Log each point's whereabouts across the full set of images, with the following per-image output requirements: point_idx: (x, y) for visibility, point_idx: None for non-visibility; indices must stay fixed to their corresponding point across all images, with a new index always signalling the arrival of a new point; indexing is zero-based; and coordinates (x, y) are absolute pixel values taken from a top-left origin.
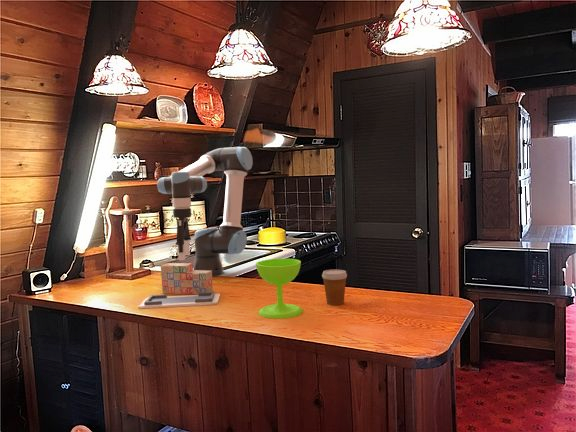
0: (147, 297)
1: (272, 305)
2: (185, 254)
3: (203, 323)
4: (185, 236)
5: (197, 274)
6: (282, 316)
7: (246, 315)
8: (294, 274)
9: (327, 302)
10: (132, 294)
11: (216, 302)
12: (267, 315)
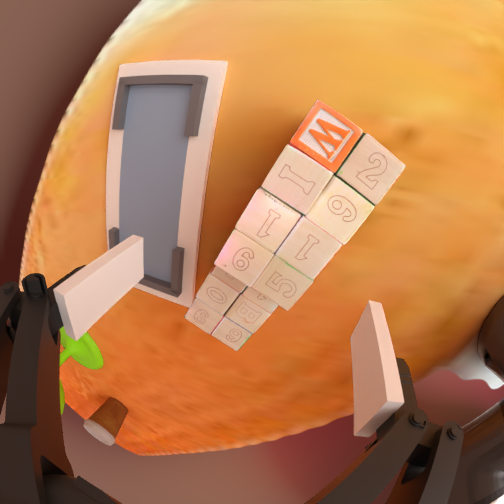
0: (223, 63)
1: (87, 347)
2: (363, 316)
3: (30, 226)
4: (357, 460)
5: (199, 289)
6: None
7: None
8: None
9: (112, 399)
10: (340, 11)
11: None
12: None
